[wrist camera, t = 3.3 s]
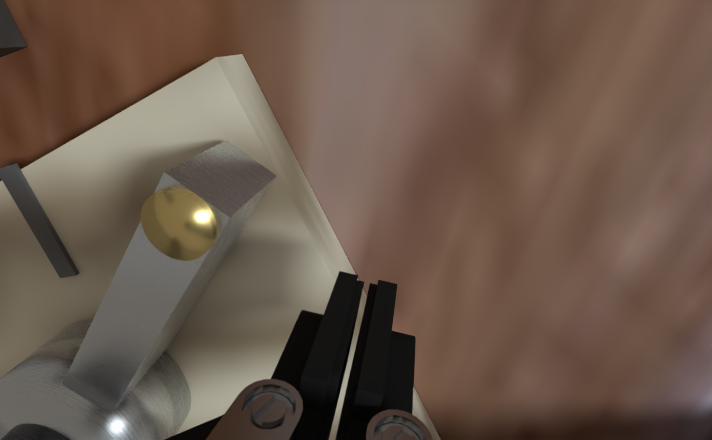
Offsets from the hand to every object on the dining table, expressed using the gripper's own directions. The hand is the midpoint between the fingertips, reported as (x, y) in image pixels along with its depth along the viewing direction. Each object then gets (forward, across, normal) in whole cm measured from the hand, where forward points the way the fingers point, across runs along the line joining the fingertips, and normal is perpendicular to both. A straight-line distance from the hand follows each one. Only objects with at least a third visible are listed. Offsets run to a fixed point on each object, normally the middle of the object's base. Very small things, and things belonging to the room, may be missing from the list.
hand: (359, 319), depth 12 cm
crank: (+3, +8, +5) cm, 10 cm away
